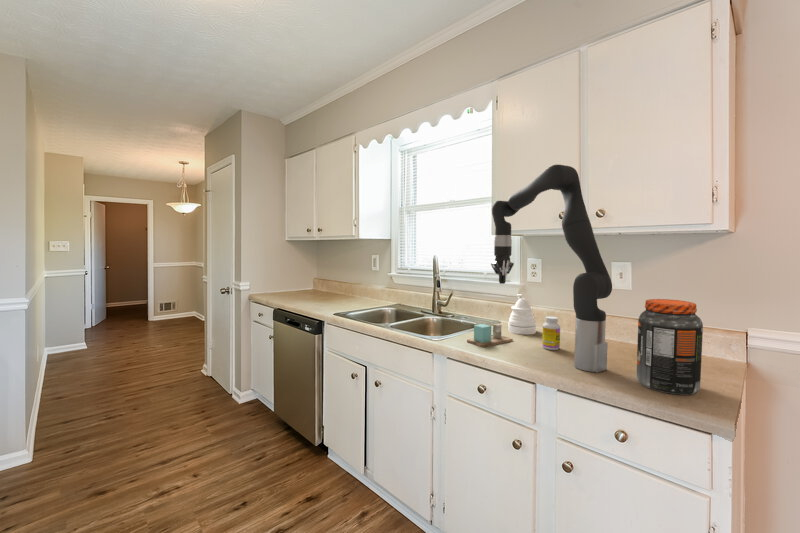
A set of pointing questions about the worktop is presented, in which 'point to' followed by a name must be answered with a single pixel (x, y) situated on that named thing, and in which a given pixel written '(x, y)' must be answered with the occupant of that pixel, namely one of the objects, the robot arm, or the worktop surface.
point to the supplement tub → (669, 346)
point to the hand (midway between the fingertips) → (502, 283)
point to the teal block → (482, 333)
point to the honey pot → (522, 318)
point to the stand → (493, 338)
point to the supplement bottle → (551, 334)
